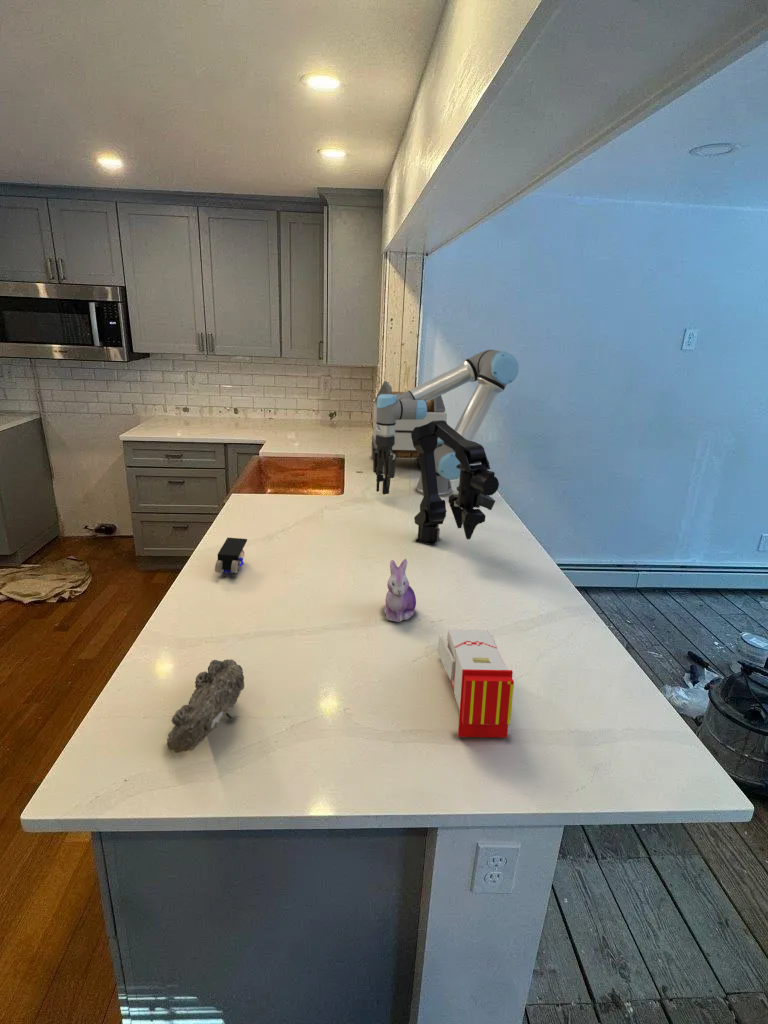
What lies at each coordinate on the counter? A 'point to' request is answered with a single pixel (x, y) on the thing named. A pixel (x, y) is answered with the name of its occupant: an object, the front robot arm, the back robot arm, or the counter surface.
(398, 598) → the figurine
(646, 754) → the counter surface
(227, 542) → the black toy vehicle
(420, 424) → the grey crate
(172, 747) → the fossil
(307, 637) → the counter surface
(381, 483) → the beige cylinder
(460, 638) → the toy
